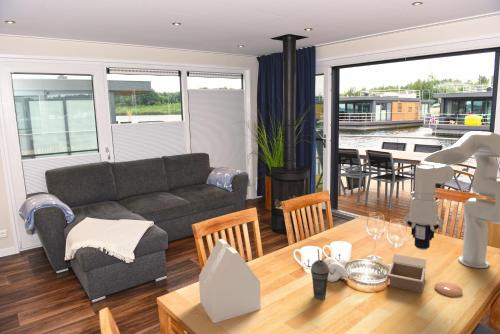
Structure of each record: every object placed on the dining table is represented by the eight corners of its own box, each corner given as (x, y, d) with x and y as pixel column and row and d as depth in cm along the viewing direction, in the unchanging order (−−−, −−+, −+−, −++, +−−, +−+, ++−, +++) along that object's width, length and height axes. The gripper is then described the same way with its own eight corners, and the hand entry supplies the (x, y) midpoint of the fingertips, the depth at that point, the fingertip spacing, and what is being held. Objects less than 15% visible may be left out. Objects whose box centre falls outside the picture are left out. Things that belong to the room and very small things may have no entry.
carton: (393, 267, 168) (394, 254, 167) (425, 273, 161) (426, 259, 160) (385, 290, 148) (385, 274, 147) (421, 298, 142) (422, 282, 140)
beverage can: (430, 251, 146) (432, 223, 144) (416, 250, 148) (417, 222, 146) (427, 245, 152) (428, 218, 150) (413, 244, 153) (414, 218, 151)
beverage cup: (318, 303, 139) (318, 255, 136) (306, 295, 146) (307, 249, 142) (332, 298, 143) (333, 251, 139) (321, 290, 149) (321, 245, 146)
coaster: (435, 282, 154) (435, 280, 154) (462, 287, 149) (462, 285, 149) (433, 293, 145) (434, 290, 145) (462, 299, 140) (462, 296, 140)
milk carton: (213, 323, 129) (210, 258, 125) (200, 302, 143) (197, 243, 138) (260, 309, 137) (259, 247, 133) (244, 291, 151) (242, 234, 146)
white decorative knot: (356, 280, 157) (357, 261, 156) (336, 288, 151) (337, 268, 149) (337, 271, 167) (338, 252, 165) (318, 277, 160) (318, 259, 159)
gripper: (400, 196, 147) (398, 237, 150) (448, 200, 138) (445, 244, 141) (403, 191, 153) (401, 231, 157) (448, 195, 144) (446, 238, 148)
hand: (422, 237), depth 149 cm, fingers closed on beverage can, 5 cm apart
